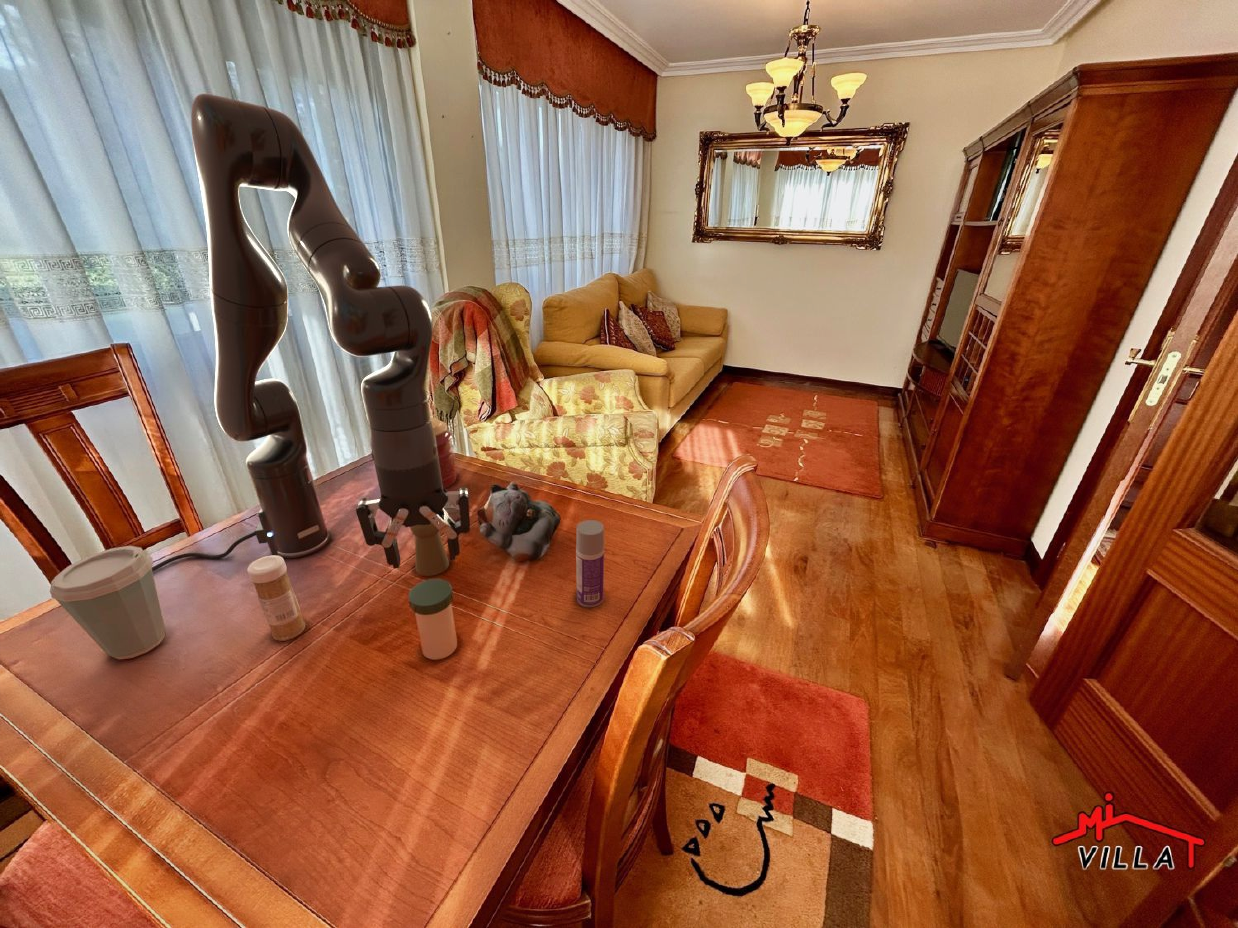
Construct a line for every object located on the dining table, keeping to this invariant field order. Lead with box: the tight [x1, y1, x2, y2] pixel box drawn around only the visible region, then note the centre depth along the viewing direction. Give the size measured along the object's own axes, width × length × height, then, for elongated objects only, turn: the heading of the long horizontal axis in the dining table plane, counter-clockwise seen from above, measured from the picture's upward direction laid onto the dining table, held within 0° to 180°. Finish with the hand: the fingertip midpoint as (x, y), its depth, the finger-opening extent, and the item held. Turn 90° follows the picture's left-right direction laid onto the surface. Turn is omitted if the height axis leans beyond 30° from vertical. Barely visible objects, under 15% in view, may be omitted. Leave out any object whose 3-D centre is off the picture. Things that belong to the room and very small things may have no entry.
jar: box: [414, 603, 458, 661], centre depth 75 cm, size 5×5×10 cm
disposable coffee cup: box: [49, 545, 166, 660], centre depth 73 cm, size 11×11×15 cm
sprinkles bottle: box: [247, 554, 306, 642], centre depth 76 cm, size 5×5×14 cm
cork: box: [409, 523, 450, 577], centre depth 93 cm, size 6×6×11 cm
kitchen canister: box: [430, 417, 458, 489], centre depth 120 cm, size 13×13×18 cm
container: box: [575, 519, 605, 608], centre depth 85 cm, size 5×5×15 cm
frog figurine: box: [443, 501, 460, 522], centre depth 107 cm, size 6×7×7 cm
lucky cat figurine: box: [475, 481, 562, 562], centre depth 100 cm, size 15×12×14 cm
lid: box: [408, 578, 454, 615], centre depth 73 cm, size 6×6×2 cm
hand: (425, 560), depth 70 cm, fingers open, 7 cm apart
